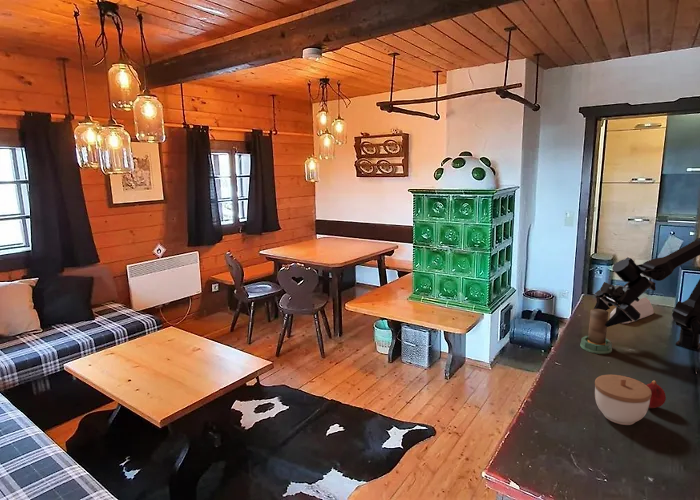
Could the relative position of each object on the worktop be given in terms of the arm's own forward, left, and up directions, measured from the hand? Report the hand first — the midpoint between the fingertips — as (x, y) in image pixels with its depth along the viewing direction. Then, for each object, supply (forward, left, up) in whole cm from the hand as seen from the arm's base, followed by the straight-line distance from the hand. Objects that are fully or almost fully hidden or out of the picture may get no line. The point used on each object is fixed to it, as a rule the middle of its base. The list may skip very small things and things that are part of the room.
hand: (598, 321), depth 156 cm
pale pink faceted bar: (-43, -3, -11) cm, 44 cm away
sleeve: (0, 0, -9) cm, 9 cm away
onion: (+29, +26, -10) cm, 40 cm away
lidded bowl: (+40, +22, -10) cm, 47 cm away
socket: (0, 0, -10) cm, 10 cm away
